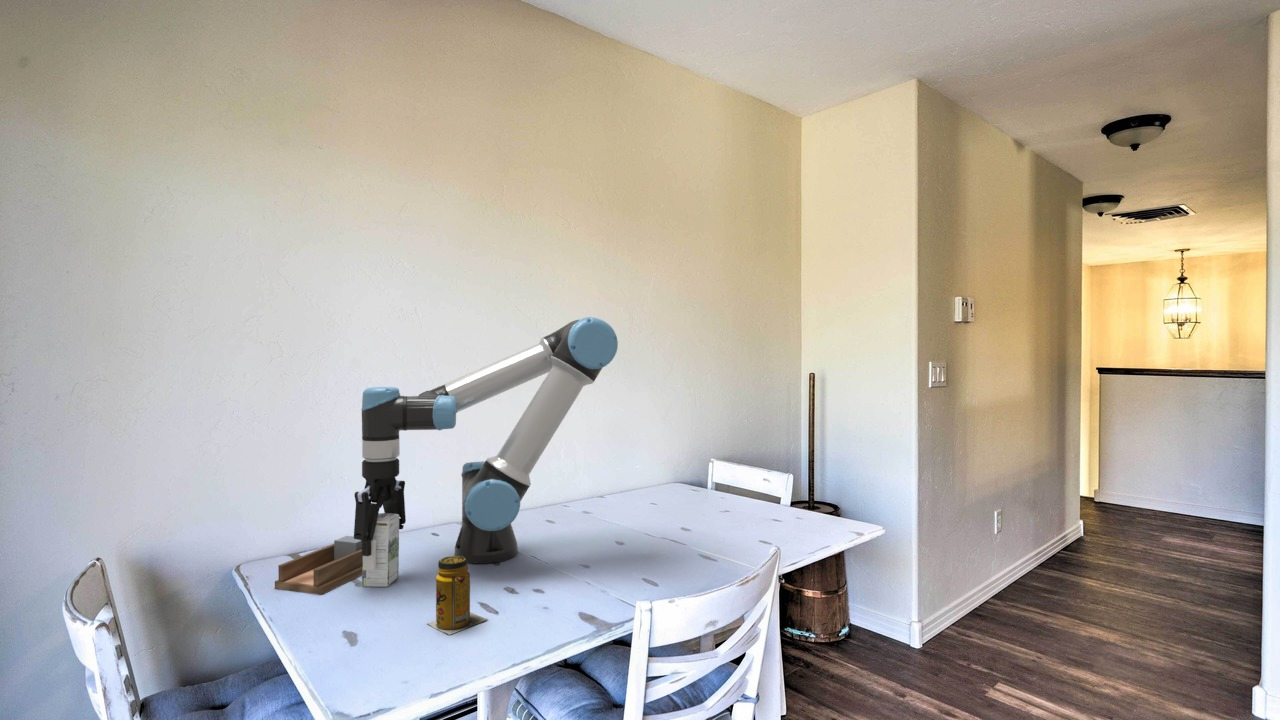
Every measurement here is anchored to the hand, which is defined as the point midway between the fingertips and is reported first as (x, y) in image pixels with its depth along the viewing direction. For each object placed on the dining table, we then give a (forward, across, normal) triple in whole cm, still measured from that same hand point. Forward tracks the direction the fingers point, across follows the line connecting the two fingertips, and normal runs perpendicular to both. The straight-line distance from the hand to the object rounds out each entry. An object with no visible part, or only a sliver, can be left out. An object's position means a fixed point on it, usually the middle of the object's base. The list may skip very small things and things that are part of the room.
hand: (380, 564), depth 140 cm
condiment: (+4, +13, +27) cm, 30 cm away
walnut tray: (+4, 0, -13) cm, 14 cm away
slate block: (+2, -6, -13) cm, 15 cm away
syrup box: (+4, 0, 0) cm, 4 cm away
